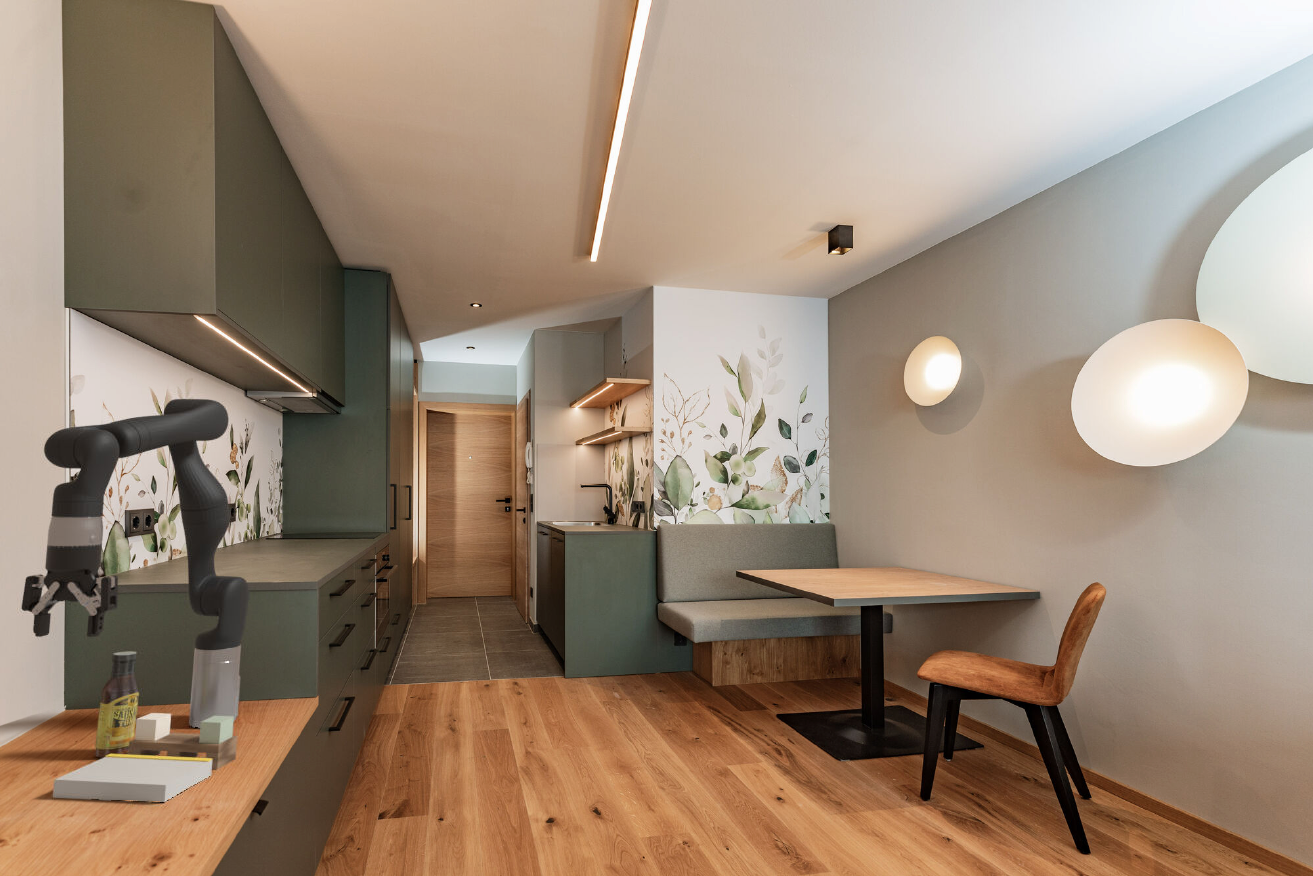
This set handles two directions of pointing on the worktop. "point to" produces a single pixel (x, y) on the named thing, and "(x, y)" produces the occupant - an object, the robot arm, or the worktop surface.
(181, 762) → the block
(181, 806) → the worktop surface
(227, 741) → the pallet
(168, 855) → the worktop surface
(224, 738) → the block
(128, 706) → the sauce bottle
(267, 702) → the worktop surface
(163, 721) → the white crate
